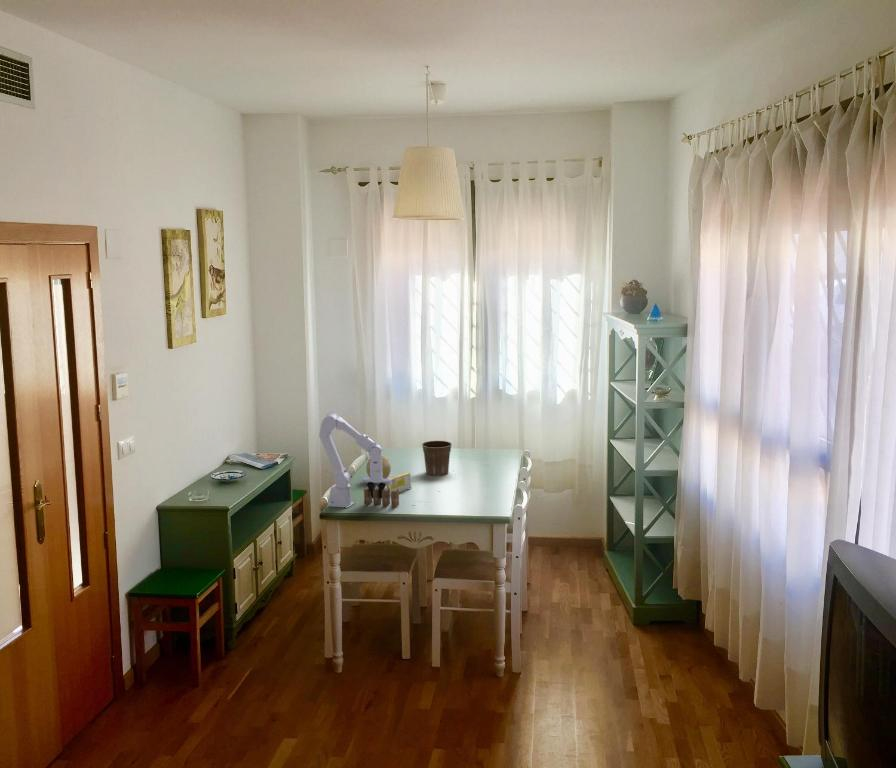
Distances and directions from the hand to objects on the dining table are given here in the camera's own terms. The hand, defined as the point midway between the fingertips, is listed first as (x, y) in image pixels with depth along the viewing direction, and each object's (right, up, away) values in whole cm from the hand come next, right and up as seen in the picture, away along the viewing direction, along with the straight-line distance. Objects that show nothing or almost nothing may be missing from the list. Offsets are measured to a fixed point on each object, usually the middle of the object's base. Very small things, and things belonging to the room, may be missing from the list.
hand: (377, 498), depth 407 cm
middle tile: (+4, -4, -1) cm, 6 cm away
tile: (0, -3, +1) cm, 3 cm away
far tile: (+9, -4, -2) cm, 10 cm away
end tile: (-4, -3, +2) cm, 6 cm away
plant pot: (+28, +6, +58) cm, 65 cm away
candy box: (+9, 0, +23) cm, 24 cm away
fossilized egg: (-3, +3, +43) cm, 44 cm away
